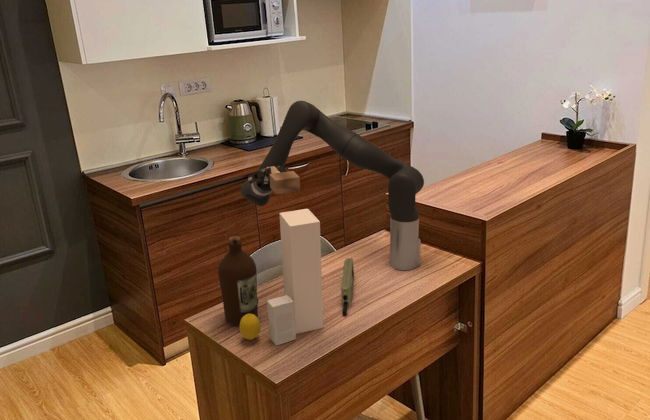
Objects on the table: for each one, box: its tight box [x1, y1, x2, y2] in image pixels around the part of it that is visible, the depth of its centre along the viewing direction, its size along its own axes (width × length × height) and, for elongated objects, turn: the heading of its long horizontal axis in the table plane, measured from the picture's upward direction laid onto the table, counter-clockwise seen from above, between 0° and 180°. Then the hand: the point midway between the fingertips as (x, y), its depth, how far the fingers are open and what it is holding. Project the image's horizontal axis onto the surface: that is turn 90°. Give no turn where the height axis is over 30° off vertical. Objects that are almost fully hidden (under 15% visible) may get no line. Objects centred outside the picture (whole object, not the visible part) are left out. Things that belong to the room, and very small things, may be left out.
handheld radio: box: [340, 257, 355, 316], centre depth 176 cm, size 7×3×25 cm
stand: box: [279, 208, 324, 335], centre depth 158 cm, size 8×10×32 cm
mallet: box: [267, 166, 301, 195], centre depth 166 cm, size 7×18×4 cm, turn 20°
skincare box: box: [266, 295, 297, 346], centre depth 154 cm, size 6×4×12 cm
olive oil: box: [217, 235, 259, 327], centre depth 162 cm, size 11×11×25 cm
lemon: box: [239, 314, 261, 341], centre depth 155 cm, size 6×6×8 cm
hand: (274, 169), depth 170 cm, fingers closed on mallet, 2 cm apart
